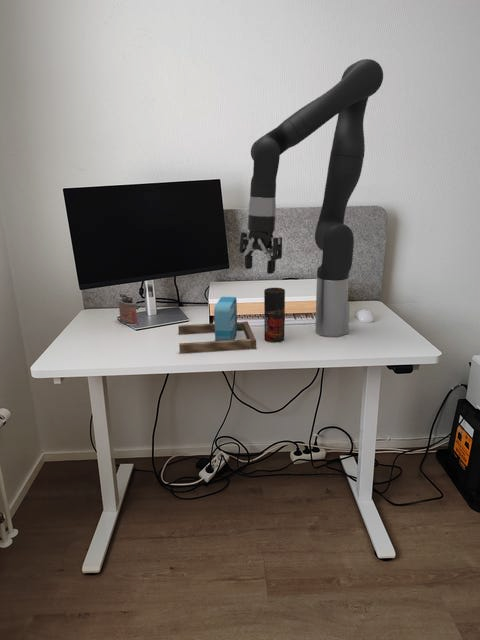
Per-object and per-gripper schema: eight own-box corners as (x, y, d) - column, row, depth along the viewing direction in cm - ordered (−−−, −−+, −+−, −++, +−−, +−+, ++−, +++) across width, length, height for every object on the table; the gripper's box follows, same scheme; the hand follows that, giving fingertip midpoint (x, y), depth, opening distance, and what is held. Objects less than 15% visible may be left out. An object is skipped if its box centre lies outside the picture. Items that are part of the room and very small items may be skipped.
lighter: (140, 324, 167) (138, 295, 164) (132, 327, 165) (129, 297, 161) (126, 319, 172) (123, 290, 169) (117, 322, 170) (114, 292, 167)
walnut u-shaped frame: (247, 328, 161) (247, 321, 160) (256, 348, 145) (256, 340, 144) (178, 333, 159) (178, 325, 158) (179, 353, 143) (179, 345, 142)
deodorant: (260, 339, 152) (260, 290, 147) (273, 334, 156) (273, 286, 151) (275, 344, 148) (276, 294, 143) (288, 338, 152) (289, 289, 147)
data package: (230, 347, 146) (229, 307, 142) (215, 347, 147) (213, 307, 143) (237, 333, 157) (236, 295, 154) (222, 332, 158) (221, 295, 154)
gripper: (290, 215, 141) (286, 273, 146) (252, 211, 150) (250, 265, 155) (272, 216, 136) (269, 277, 140) (234, 212, 145) (232, 268, 150)
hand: (259, 271), depth 148 cm, fingers open, 8 cm apart
